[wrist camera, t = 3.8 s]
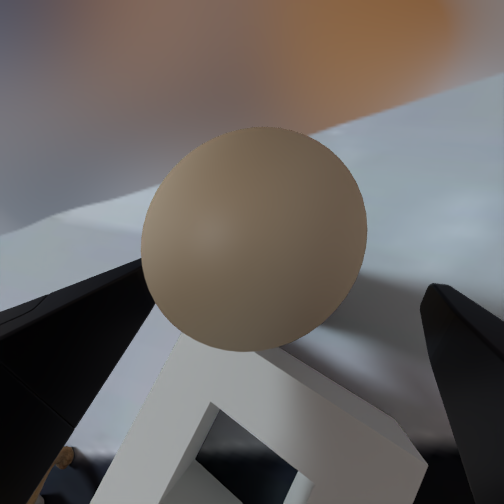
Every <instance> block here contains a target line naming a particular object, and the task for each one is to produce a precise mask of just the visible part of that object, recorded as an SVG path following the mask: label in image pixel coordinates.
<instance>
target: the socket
mask: <svg viewBox="0 0 504 504" xmlns="http://www.w3.org/2000/svg"><path fill="white" fill-rule="evenodd" d="M220 409H221V410H222V411H223V412H224V413H226V414H227V415H228V416H230V417H231V418H232V419H233V420H235V421H236V422H237V423H238V424H240V425H241V426H242V427H243V428H245V429H246V430H247V431H249V432H250V433H251V434H252V435H254V436H255V437H256V438H257V439H259V440H260V441H261V442H262V443H264V444H265V445H266V446H268V447H269V448H270V449H271V450H273V451H274V452H275V453H276V454H278V455H279V456H280V457H281V458H283V459H284V460H285V461H287V462H288V463H289V464H290V465H292V466H293V467H294V468H295V469H297V470H298V473H297V475H296V477H295V479H294V481H293V483H292V485H291V488H290V490H289V492H288V494H287V496H286V498H285V501H284V503H283V504H413V502H414V499H415V497H416V494H417V492H418V489H419V487H420V485H421V482H422V480H423V477H424V475H425V472H426V470H427V468H428V464H427V463H426V462H425V460H424V459H423V457H422V456H421V455H420V453H419V452H418V450H417V449H416V448H415V446H414V445H413V444H412V442H411V441H410V439H409V438H408V437H407V435H406V434H405V432H404V431H403V430H402V428H401V427H400V426H399V424H398V423H397V421H396V420H395V419H394V418H392V417H391V416H389V415H388V414H386V413H384V412H383V411H381V410H379V409H378V408H376V407H375V406H373V405H371V404H370V403H368V402H367V401H365V400H363V399H362V398H360V397H358V396H357V395H355V394H354V393H352V392H350V391H349V390H347V389H345V388H344V387H342V386H341V385H339V384H337V383H336V382H334V381H333V380H331V379H329V378H328V377H326V376H324V375H323V374H321V373H320V372H318V371H316V370H315V369H313V368H312V367H310V366H308V365H307V364H305V363H303V362H302V361H300V360H299V359H297V358H295V357H294V356H292V355H290V354H289V353H287V352H286V351H284V350H282V349H281V348H279V347H276V348H272V349H267V350H262V351H253V352H236V351H226V350H221V349H217V348H213V347H210V346H207V345H205V344H203V343H200V342H198V341H196V340H194V339H192V338H191V337H189V336H187V335H186V334H184V333H183V332H182V333H181V334H180V336H179V338H178V340H177V342H176V344H175V346H174V348H173V349H172V351H171V353H170V355H169V357H168V359H167V361H166V362H165V364H164V366H163V368H162V370H161V372H160V374H159V375H158V377H157V379H156V381H155V383H154V385H153V387H152V388H151V390H150V392H149V394H148V396H147V398H146V400H145V402H144V403H143V405H142V407H141V409H140V411H139V413H138V415H137V416H136V418H135V420H134V422H133V424H132V426H131V428H130V429H129V431H128V433H127V435H126V437H125V439H124V441H123V443H122V444H121V446H120V448H119V450H118V452H117V454H116V456H115V457H114V459H113V461H112V463H111V465H110V467H109V469H108V470H107V472H106V474H105V476H104V478H103V480H102V482H101V483H100V485H99V487H98V489H97V491H96V493H95V495H94V497H93V498H92V500H91V502H90V504H243V503H242V502H241V501H240V500H239V499H238V498H237V497H236V496H234V495H233V494H232V493H231V492H230V491H229V490H228V489H227V488H226V487H225V486H224V485H222V484H221V483H220V482H219V481H218V480H217V479H216V478H215V477H214V476H213V475H212V474H210V473H209V472H208V471H207V470H206V469H205V468H204V467H203V466H202V465H201V464H200V463H198V462H197V461H196V460H195V458H196V456H197V454H198V452H199V450H200V448H201V446H202V444H203V442H204V440H205V438H206V436H207V434H208V432H209V430H210V428H211V426H212V424H213V422H214V421H215V419H216V417H217V415H218V413H219V411H220Z"/></svg>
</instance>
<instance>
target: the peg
mask: <svg viewBox="0 0 504 504" xmlns="http://www.w3.org/2000/svg"><path fill="white" fill-rule="evenodd" d="M366 241H367V219H366V211H365V206H364V202H363V198H362V195H361V193H360V190H359V188H358V185H357V183H356V181H355V180H354V178H353V176H352V174H351V173H350V171H349V170H348V168H347V167H346V166H345V165H344V163H343V162H342V161H341V160H340V159H339V158H338V157H337V156H336V155H335V154H334V153H333V152H332V151H331V150H330V149H328V148H327V147H325V146H324V145H322V144H321V143H320V142H318V141H316V140H314V139H312V138H310V137H308V136H306V135H304V134H301V133H298V132H295V131H292V130H286V129H282V128H273V127H254V128H247V129H240V130H236V131H233V132H229V133H226V134H223V135H221V136H218V137H215V138H213V139H211V140H209V141H207V142H206V143H204V144H202V145H201V146H199V147H197V148H196V149H194V150H193V151H192V152H190V153H189V154H188V155H187V156H186V157H184V158H183V159H182V160H181V161H180V162H179V163H178V164H177V165H176V166H175V167H174V168H173V169H172V170H171V171H170V173H169V174H168V175H167V176H166V178H165V179H164V180H163V182H162V183H161V185H160V186H159V188H158V189H157V191H156V193H155V195H154V197H153V199H152V201H151V203H150V206H149V209H148V211H147V214H146V218H145V222H144V225H143V231H142V238H141V259H142V267H143V272H144V277H145V280H146V283H147V286H148V289H149V291H150V293H151V295H152V297H153V299H154V301H155V303H156V304H157V306H158V307H159V309H160V310H161V312H162V313H163V314H164V316H165V317H166V318H167V319H168V320H169V321H170V322H171V323H172V324H173V325H174V326H175V327H176V328H178V329H179V330H180V331H181V332H183V333H184V334H186V335H187V336H189V337H191V338H192V339H194V340H196V341H198V342H200V343H203V344H205V345H207V346H210V347H213V348H217V349H221V350H226V351H236V352H253V351H262V350H267V349H272V348H276V347H279V346H282V345H285V344H288V343H291V342H293V341H295V340H297V339H299V338H301V337H302V336H304V335H306V334H308V333H309V332H311V331H312V330H314V329H315V328H316V327H318V326H319V325H320V324H322V323H323V322H324V321H325V320H326V319H327V318H328V317H329V316H330V315H331V314H332V313H333V312H334V311H335V310H336V309H337V308H338V307H339V305H340V304H341V303H342V302H343V300H344V299H345V298H346V296H347V295H348V293H349V291H350V289H351V288H352V286H353V284H354V282H355V281H356V278H357V276H358V273H359V271H360V268H361V265H362V262H363V258H364V254H365V249H366Z"/></svg>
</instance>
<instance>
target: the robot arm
mask: <svg viewBox="0 0 504 504" xmlns="http://www.w3.org/2000/svg"><path fill="white" fill-rule="evenodd" d="M154 305H155V301H154V299H153V297H152V295H151V293H150V291H149V289H148V286H147V283H146V280H145V277H144V272H143V267H142V259H141V258H140V259H138V260H135V261H132V262H130V263H127V264H125V265H122V266H120V267H117V268H114V269H112V270H109V271H107V272H104V273H101V274H99V275H96V276H94V277H91V278H89V279H86V280H83V281H81V282H78V283H76V284H73V285H70V286H68V287H65V288H63V289H60V290H57V291H55V292H52V293H50V294H49V295H48V294H47V295H44V296H42V297H39V298H37V299H34V300H31V301H29V302H26V303H23V304H21V305H18V306H15V307H13V308H10V309H7V310H4V311H1V312H0V504H27V502H28V501H29V499H30V498H31V496H32V495H33V493H34V492H35V490H36V489H37V487H38V485H39V484H40V482H41V481H42V479H43V478H44V476H45V475H46V473H47V471H48V470H49V468H50V467H51V465H52V464H53V462H54V461H55V459H56V458H57V456H58V454H59V453H60V451H61V450H62V448H63V447H64V445H65V444H66V442H67V441H68V439H69V437H70V436H71V434H72V433H73V431H74V428H76V426H77V425H78V423H79V422H80V420H81V419H82V417H83V415H84V414H85V412H86V411H87V409H88V408H89V406H90V405H91V403H92V402H93V400H94V398H95V397H96V395H97V394H98V392H99V391H100V389H101V388H102V386H103V385H104V383H105V381H106V380H107V378H108V377H109V375H110V374H111V372H112V371H113V369H114V368H115V366H116V364H117V363H118V361H119V360H120V358H121V357H122V355H123V354H124V352H125V351H126V349H127V347H128V346H129V344H130V343H131V341H132V340H133V338H134V337H135V335H136V334H137V332H138V330H139V329H140V327H141V326H142V324H143V323H144V321H145V320H146V318H147V317H148V315H149V313H150V312H151V310H152V308H153V307H154ZM420 313H421V318H422V324H423V329H424V334H425V340H426V345H427V350H428V355H429V359H430V363H431V366H432V370H433V373H434V376H435V379H436V382H437V385H438V388H439V391H440V395H441V398H442V401H443V404H444V407H445V410H446V413H447V416H448V419H449V422H450V426H451V429H452V432H453V435H454V438H455V441H456V444H457V447H458V450H459V453H460V457H461V460H462V463H463V466H464V469H465V472H466V475H467V478H468V481H469V484H470V488H471V491H472V494H473V497H474V500H475V503H476V504H504V321H502V320H501V319H499V318H498V317H496V316H495V315H493V314H492V313H490V312H489V311H487V310H486V309H484V308H483V307H481V306H480V305H478V304H477V303H475V302H474V301H472V300H471V299H469V298H468V297H466V296H465V295H463V294H462V293H460V292H458V291H457V290H455V289H454V288H452V287H451V286H449V285H445V284H436V283H432V284H430V285H429V286H428V288H427V290H426V293H425V295H424V297H423V300H422V302H421V305H420Z"/></svg>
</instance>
